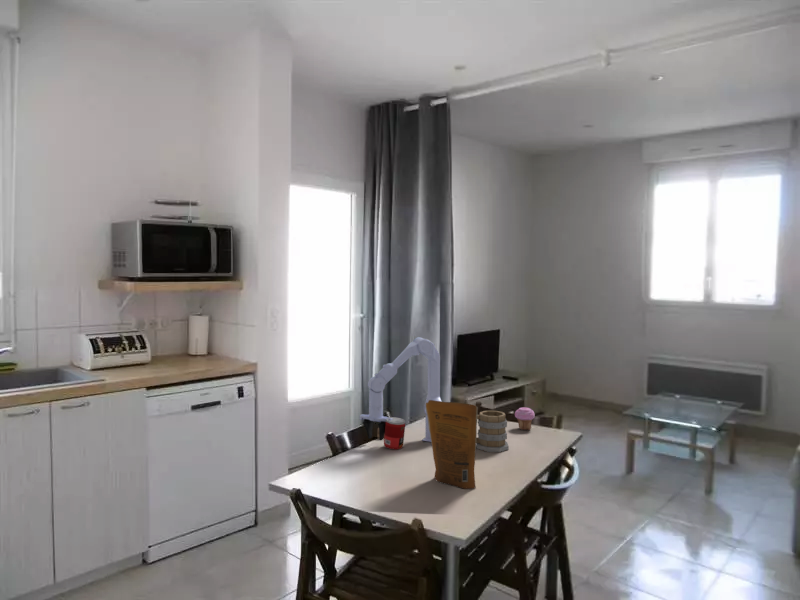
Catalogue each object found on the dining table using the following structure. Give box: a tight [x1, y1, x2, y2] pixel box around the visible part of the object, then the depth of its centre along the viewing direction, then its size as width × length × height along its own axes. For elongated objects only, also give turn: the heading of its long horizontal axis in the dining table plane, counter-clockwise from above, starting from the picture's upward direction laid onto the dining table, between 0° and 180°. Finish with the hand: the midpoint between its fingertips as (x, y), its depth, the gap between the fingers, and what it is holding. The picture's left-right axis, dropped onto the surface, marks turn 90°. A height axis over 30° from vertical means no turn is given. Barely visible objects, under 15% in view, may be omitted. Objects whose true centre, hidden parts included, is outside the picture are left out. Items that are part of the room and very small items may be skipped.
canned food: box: [383, 416, 406, 450], centre depth 226 cm, size 8×8×11 cm
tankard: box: [476, 410, 509, 453], centre depth 227 cm, size 20×13×15 cm, turn 84°
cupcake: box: [514, 406, 536, 431], centre depth 255 cm, size 9×9×10 cm
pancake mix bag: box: [425, 400, 479, 490], centre depth 186 cm, size 7×19×28 cm, turn 51°
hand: (375, 438), depth 230 cm, fingers open, 5 cm apart
